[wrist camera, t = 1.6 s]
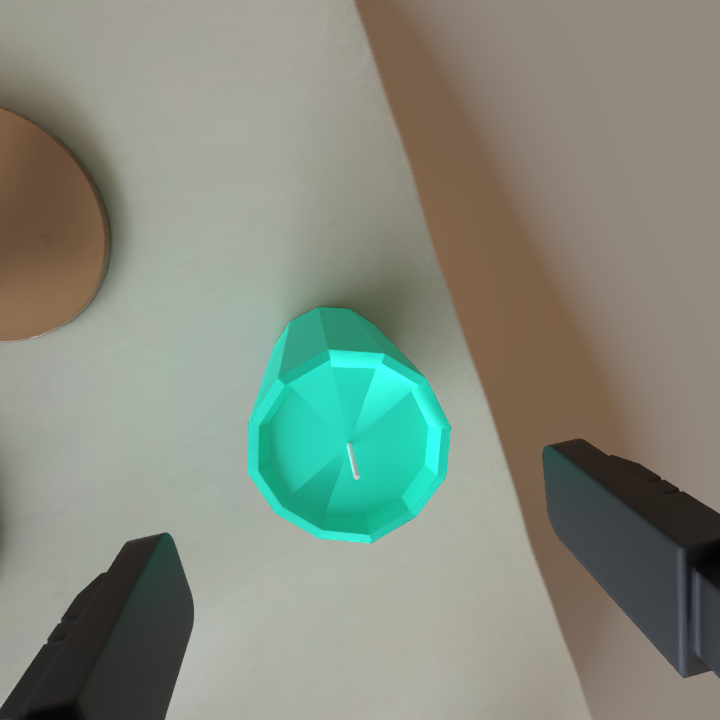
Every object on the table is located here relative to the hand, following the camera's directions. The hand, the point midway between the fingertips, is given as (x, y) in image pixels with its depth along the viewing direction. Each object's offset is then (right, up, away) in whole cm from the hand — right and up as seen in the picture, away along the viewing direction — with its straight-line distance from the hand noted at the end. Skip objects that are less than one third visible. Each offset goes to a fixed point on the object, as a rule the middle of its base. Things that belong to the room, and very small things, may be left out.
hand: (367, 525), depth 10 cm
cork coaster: (-16, +9, +10) cm, 22 cm away
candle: (-2, +3, +14) cm, 14 cm away
